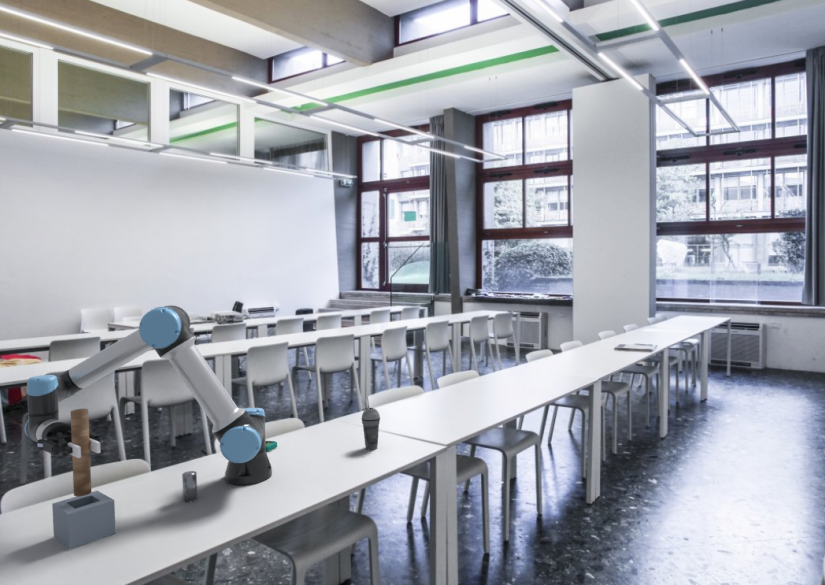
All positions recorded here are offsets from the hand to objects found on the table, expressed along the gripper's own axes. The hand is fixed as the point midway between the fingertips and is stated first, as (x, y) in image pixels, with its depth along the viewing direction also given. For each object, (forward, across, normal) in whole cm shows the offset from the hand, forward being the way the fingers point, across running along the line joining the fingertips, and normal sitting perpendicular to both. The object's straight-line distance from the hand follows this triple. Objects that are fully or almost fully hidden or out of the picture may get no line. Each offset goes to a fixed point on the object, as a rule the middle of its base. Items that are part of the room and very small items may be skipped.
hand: (89, 450), depth 144 cm
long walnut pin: (-5, 0, -12) cm, 14 cm away
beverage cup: (+5, -99, -24) cm, 102 cm away
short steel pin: (-5, -30, -24) cm, 38 cm away
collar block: (-5, 0, -24) cm, 24 cm away
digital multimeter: (-32, -72, -24) cm, 82 cm away
